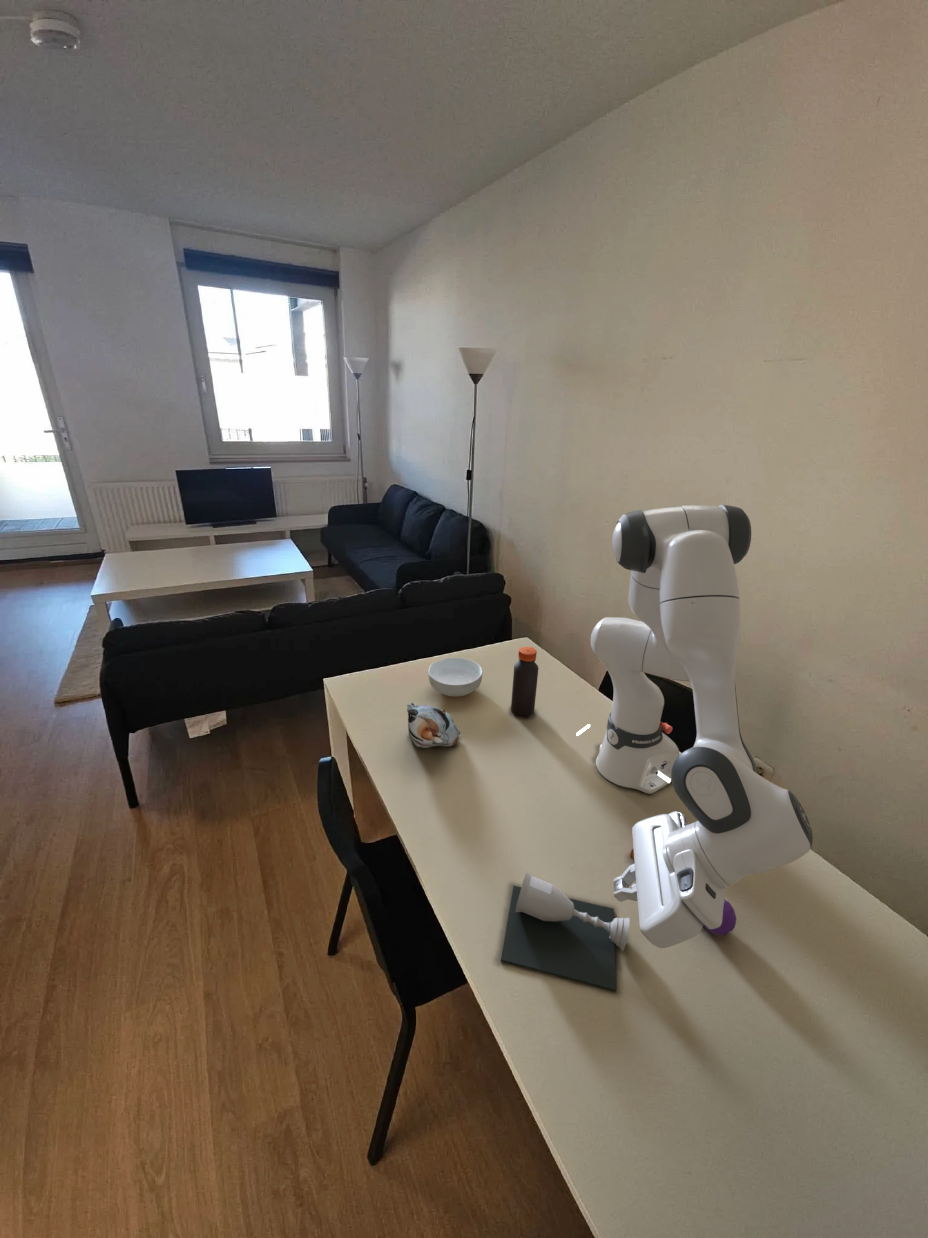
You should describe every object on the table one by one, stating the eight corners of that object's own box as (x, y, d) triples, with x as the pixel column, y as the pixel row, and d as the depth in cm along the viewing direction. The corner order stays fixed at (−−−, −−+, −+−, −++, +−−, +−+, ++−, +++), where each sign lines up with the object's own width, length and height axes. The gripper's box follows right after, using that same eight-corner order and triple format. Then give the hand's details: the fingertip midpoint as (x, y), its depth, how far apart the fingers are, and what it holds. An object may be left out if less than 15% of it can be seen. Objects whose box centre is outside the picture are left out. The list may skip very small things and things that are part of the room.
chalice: (631, 926, 80) (522, 882, 85) (620, 967, 80) (512, 920, 85) (630, 903, 87) (529, 864, 92) (620, 941, 87) (520, 899, 92)
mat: (613, 910, 90) (613, 908, 90) (615, 991, 78) (616, 990, 78) (513, 887, 94) (513, 885, 94) (500, 961, 81) (500, 959, 81)
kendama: (648, 834, 101) (747, 907, 85) (641, 859, 103) (737, 935, 87) (629, 842, 98) (728, 919, 82) (622, 868, 99) (718, 949, 84)
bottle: (538, 711, 147) (544, 650, 139) (525, 721, 143) (530, 658, 135) (519, 702, 152) (524, 642, 144) (506, 711, 147) (510, 650, 139)
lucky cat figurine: (469, 740, 134) (464, 716, 123) (433, 770, 130) (424, 747, 119) (435, 703, 142) (427, 677, 131) (400, 730, 138) (389, 705, 127)
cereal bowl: (426, 676, 164) (427, 657, 161) (477, 675, 166) (478, 656, 163) (429, 705, 148) (429, 685, 146) (485, 703, 150) (486, 683, 148)
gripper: (672, 795, 82) (602, 827, 88) (694, 906, 64) (604, 938, 70) (696, 821, 83) (625, 851, 89) (723, 939, 65) (632, 967, 71)
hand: (615, 891), depth 79 cm, fingers closed
